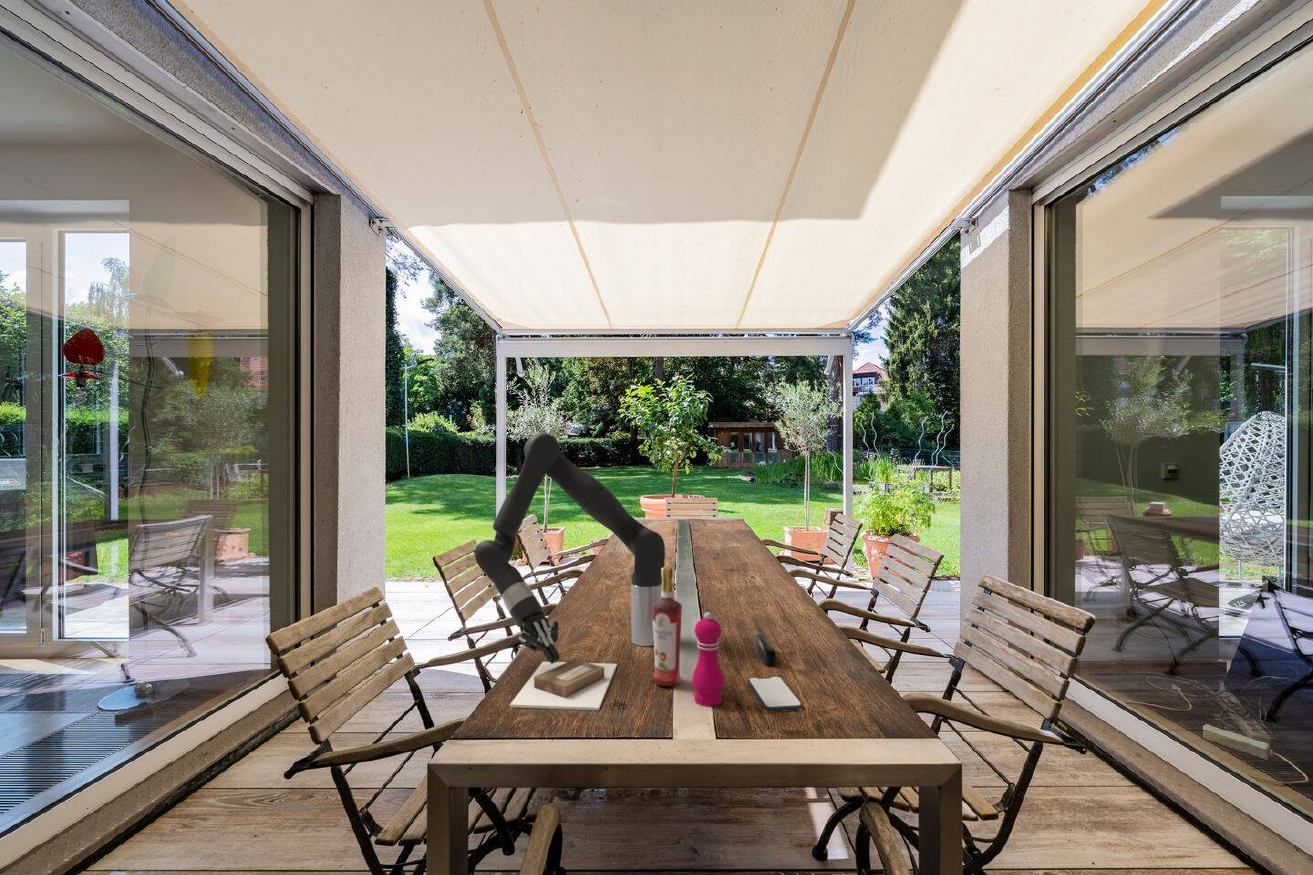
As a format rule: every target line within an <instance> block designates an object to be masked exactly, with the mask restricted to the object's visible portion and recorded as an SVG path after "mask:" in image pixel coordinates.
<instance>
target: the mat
mask: <svg viewBox="0 0 1313 875" xmlns="http://www.w3.org/2000/svg"><path fill="white" fill-rule="evenodd" d="M567 662H568V661H563V662H562V661H557V662H555V663H553V664H551V663H550V662H549V661H542V662H541V663H540V664H539V666H538V667H537V668H536V670H535V671H534V672H533V674H531V676H530V678H529V679H528V680H527V682H526V683H525V684H524V685H523V686H522V688H521V690H520V691H519V692H518V693H517V695H516V696H515V698H513V700H512V702H511V703H510V704H509V708H516V709H517V708H519V709H520V708H523V709H543V710H544V709H550V710H572V709H573V710H577V711H599V710H600V709H601V705H602V704H603V701H604V698H605V697H606V694H607V691H608V689H609V687H610V684H611V682H612V678H613V676H614V674H615V671H616V670H617V666H618V664H617V663H603V662H602V663H601V662H589V663H590V664H594V665H597V666H601V667H604V678H603V679H601V680H600V681H598V682H596V683H594V684H592V685H590V686H588V687H586V688H584V689H582V690H580V691H578V692H576V693H574V694H572V695H570V696H568V697H566V698H563V697H560V696H557V695H554V694H551V693H548V692H545V691H542V690H539V689H536V688H534V677H535V676H537V675H540V674H542V673H544V672H546V671H549V670H551V669H553V668H556V667H558V666H560V665H562V664H565V663H567Z"/></svg>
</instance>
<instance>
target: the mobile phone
mask: <svg viewBox="0 0 1313 875" xmlns="http://www.w3.org/2000/svg"><path fill="white" fill-rule="evenodd" d="M754 648H755V650H756V652H757V655H758V656H759V657H760V659H761V661H762V662H763V664H764V665H765V667H767V668H776V650H775V649H774V648H773V646H772V645H771V644H770V642H769V640H768V637H767V636H766V635H764V634H757V635H756V637H755V645H754Z"/></svg>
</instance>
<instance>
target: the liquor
mask: <svg viewBox="0 0 1313 875" xmlns="http://www.w3.org/2000/svg"><path fill="white" fill-rule="evenodd" d="M661 572H662V592H661V600H659V601H656V602H655V603H654V604H653V605H652V615H653V635H654V646H653V651H654V652H653V653H654V654H653V655H654V675H653V677H652V679H653V681H655V682H656V683H657V684H658V685H659V686H660V685H661V687H664V686H671V687H674V686H676V685H677V684H678V683H679V682H680V681H681V679H682V677H681V674H680V655H681V654H680V653H681V651H680V650H681V634H682V632H681V631H682V609H683V608H682V607H683V605H682V604H681V603H680V602H678V601H677V600H675V599H674V597H673V596H674V595H673V587H672V580H673V579H672V578H673V567H670V566H669V567H666V566H664V568H661Z"/></svg>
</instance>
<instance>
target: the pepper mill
mask: <svg viewBox="0 0 1313 875" xmlns="http://www.w3.org/2000/svg"><path fill="white" fill-rule="evenodd" d="M712 617H713V616H712V613H711V612H708V611H706V612H705V613H704V614H703V618H701V619H700V620H698V621H697V622H696V624H695V627H694V635H695V636H696V638H697V640H696V643H697V644H696V647H697V648H698V660H697V663H696V666H695V668H694V671H693V674H692V685H693V687H694V688H695V691H694V701H695V703H696V704H698V705H701V706H704V707H714V706H713V705H715V706H718V705H720V704H722V702H723V693H722V691H721V690H722V689H723V687H724V685H725V678H724V674H723V672H722V669H721V665H720V664H719V659H718V649H719V648H720V641H719V638H720V637H721V634H722V629H721V625H720V623H719V622H718V621H717V620H716V619H713V618H712ZM717 704H718V705H717Z"/></svg>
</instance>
